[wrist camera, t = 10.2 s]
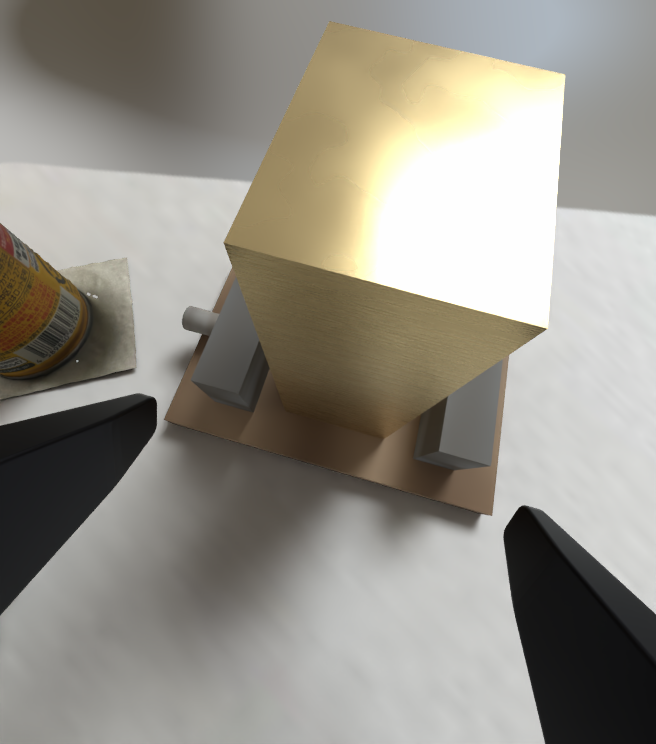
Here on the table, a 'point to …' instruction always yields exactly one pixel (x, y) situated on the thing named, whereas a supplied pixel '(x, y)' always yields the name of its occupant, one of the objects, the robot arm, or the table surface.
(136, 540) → the table surface
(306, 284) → the brass block
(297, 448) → the vise
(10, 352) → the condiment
